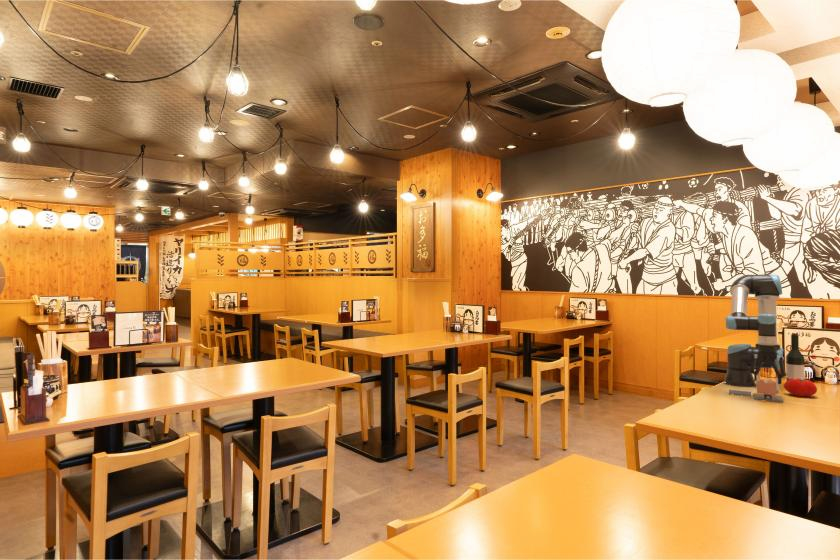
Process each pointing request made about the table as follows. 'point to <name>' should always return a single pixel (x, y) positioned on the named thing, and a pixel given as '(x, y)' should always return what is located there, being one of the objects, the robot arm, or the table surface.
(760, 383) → the orange block
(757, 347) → the robot arm
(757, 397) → the grey peg stand
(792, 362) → the wine bottle
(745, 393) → the mat
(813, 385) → the tomato
